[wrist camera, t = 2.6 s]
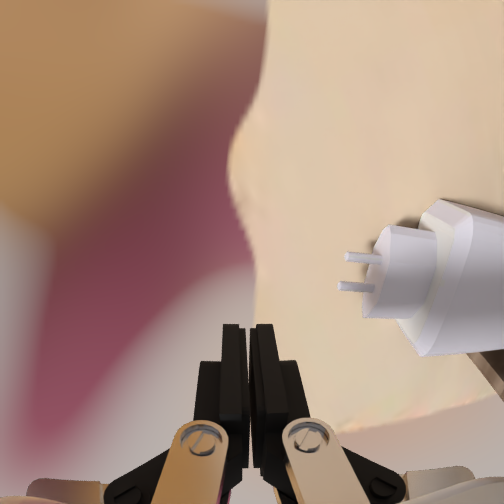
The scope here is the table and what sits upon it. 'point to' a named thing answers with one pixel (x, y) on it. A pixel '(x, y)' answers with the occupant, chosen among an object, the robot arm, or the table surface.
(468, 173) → the table surface
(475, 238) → the charger
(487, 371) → the grey-brown block
